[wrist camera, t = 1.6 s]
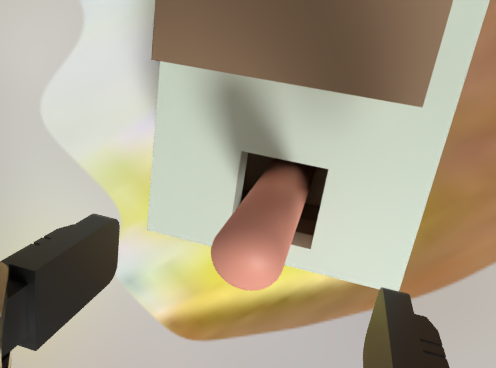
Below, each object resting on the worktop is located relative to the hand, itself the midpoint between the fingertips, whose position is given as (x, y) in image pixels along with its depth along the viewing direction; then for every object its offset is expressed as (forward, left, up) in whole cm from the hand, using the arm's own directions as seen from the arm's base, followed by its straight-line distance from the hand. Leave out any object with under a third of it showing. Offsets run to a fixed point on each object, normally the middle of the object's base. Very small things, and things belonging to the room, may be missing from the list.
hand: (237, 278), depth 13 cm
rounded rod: (0, 0, -13) cm, 13 cm away
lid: (-4, 0, -8) cm, 9 cm away
